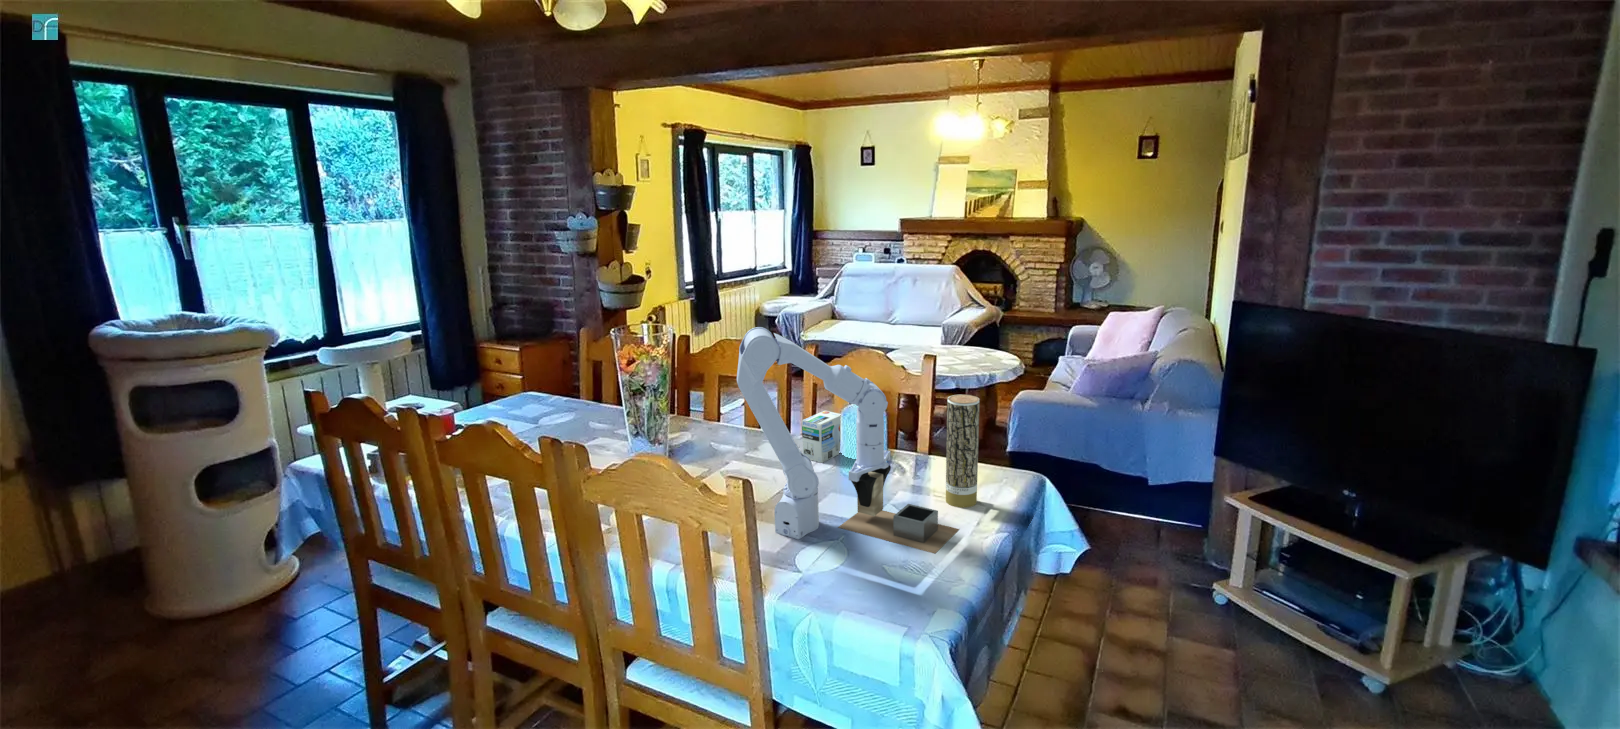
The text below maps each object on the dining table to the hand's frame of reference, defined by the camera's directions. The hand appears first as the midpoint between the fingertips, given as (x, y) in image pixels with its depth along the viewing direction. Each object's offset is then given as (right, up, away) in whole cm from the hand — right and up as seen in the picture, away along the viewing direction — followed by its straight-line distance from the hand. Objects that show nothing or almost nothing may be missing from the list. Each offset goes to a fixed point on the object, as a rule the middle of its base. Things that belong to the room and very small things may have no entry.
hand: (870, 501), depth 158 cm
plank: (+5, -6, -3) cm, 9 cm away
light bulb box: (-9, +5, +42) cm, 43 cm away
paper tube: (+21, -3, +9) cm, 23 cm away
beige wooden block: (0, -2, +1) cm, 2 cm away
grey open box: (+9, -5, -6) cm, 12 cm away
